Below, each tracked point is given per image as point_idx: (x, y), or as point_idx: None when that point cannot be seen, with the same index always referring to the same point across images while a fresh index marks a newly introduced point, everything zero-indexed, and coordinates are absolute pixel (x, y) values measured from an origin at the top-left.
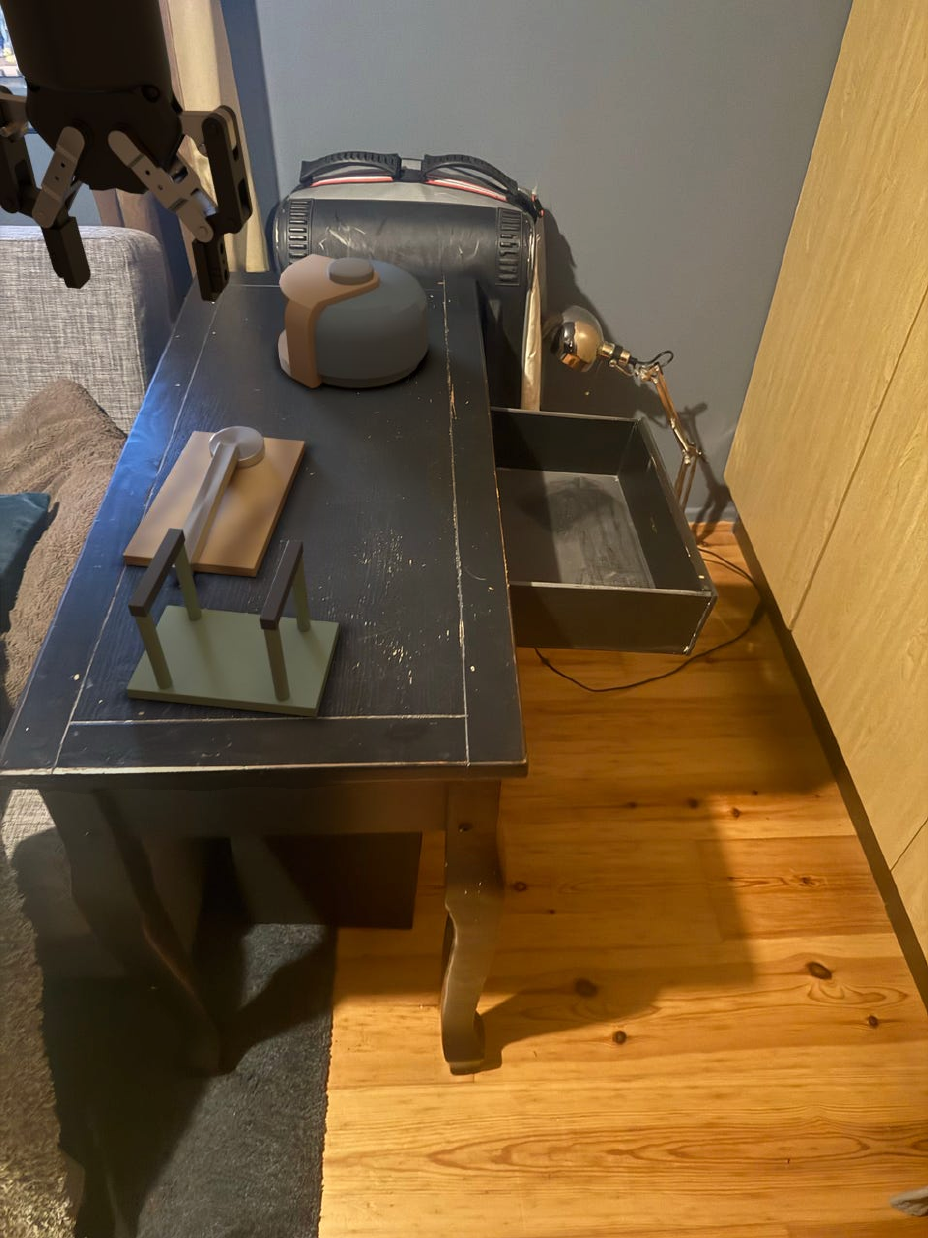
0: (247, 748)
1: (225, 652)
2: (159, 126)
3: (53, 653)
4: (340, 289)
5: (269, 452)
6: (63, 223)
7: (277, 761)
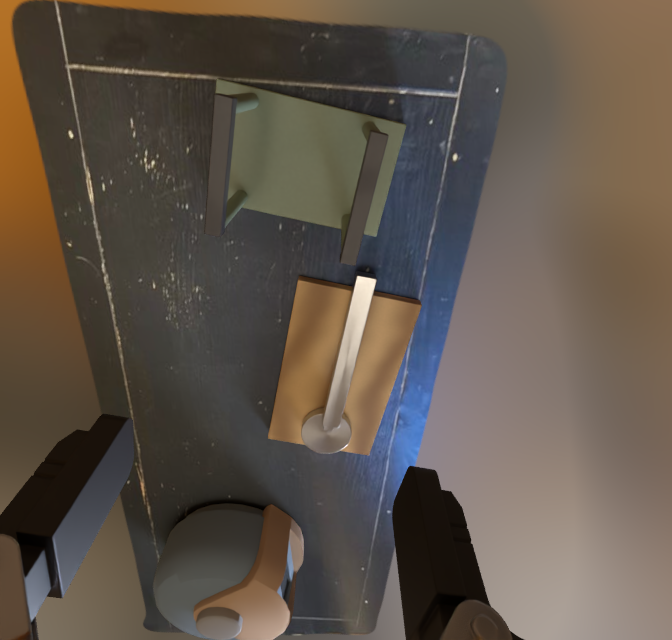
0: (284, 41)
1: (314, 167)
2: None
3: (478, 190)
4: (227, 601)
5: (298, 426)
6: (431, 618)
7: (252, 18)
